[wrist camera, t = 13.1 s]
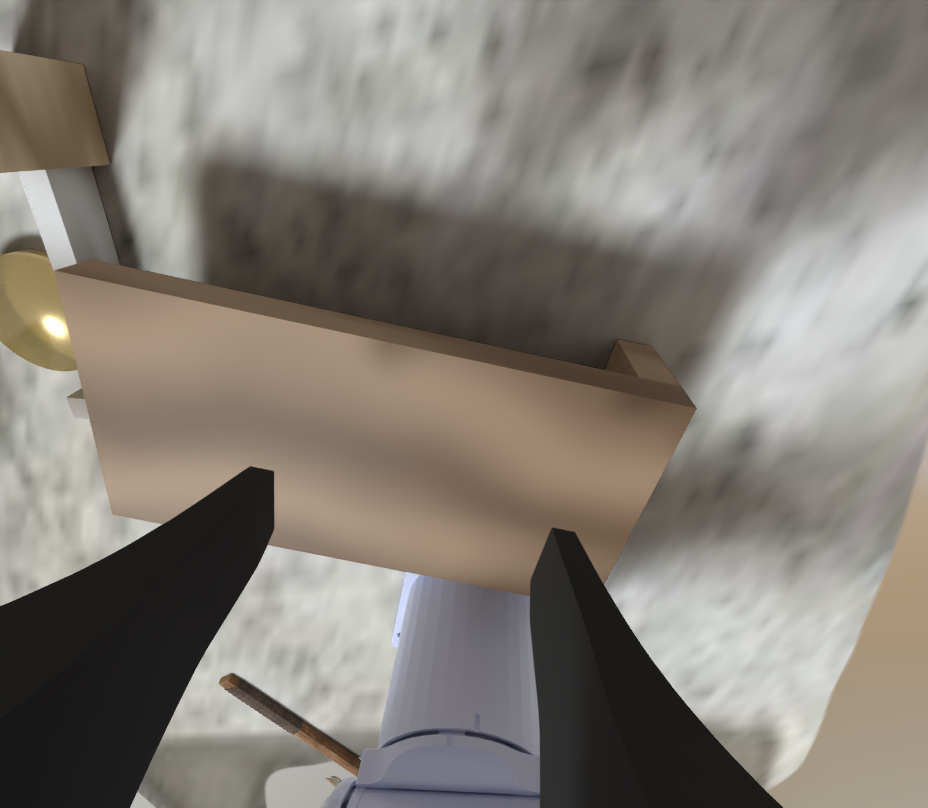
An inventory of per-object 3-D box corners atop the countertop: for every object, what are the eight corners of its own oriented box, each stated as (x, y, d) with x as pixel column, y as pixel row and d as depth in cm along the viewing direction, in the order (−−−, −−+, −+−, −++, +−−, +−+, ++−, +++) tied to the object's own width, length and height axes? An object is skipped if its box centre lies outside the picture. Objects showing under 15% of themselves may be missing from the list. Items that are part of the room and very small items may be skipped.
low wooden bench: (575, 523, 24) (591, 608, 20) (185, 444, 23) (112, 514, 19) (652, 346, 19) (696, 408, 15) (159, 238, 18) (53, 270, 14)
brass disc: (83, 241, 19) (59, 247, 18) (139, 354, 21) (121, 366, 20) (-25, 255, 20) (-55, 262, 18) (42, 364, 22) (19, 375, 21)
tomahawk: (187, 681, 37) (175, 698, 36) (239, 666, 33) (228, 685, 32) (353, 789, 44) (348, 806, 43) (410, 785, 40) (406, 804, 39)
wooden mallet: (175, 402, 22) (74, 483, 17) (107, 395, 22) (-13, 474, 17) (82, 64, 16) (-126, 27, 10) (-12, 57, 16) (-265, 17, 11)
